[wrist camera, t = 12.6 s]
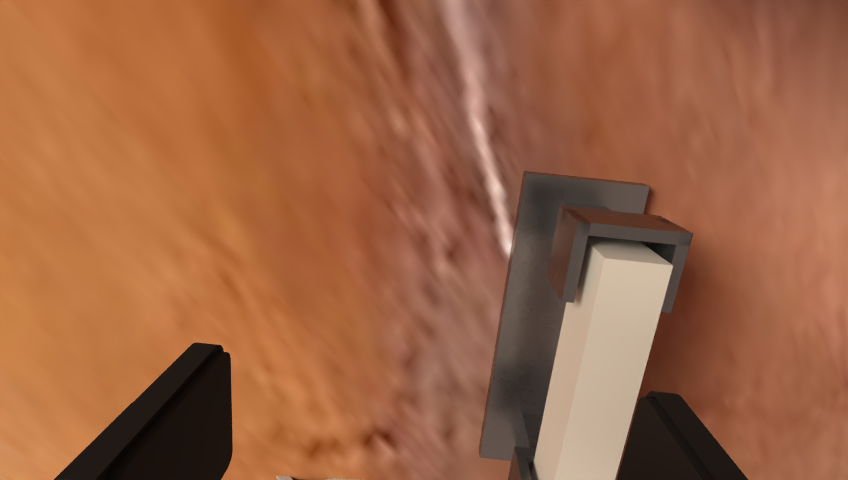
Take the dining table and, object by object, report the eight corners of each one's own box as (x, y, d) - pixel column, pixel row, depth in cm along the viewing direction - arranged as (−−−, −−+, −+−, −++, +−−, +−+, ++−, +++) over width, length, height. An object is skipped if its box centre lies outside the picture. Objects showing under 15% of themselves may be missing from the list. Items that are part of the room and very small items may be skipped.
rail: (580, 234, 32) (604, 258, 27) (638, 240, 32) (673, 265, 27) (527, 490, 39) (540, 546, 34) (576, 495, 39) (595, 552, 34)
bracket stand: (523, 171, 39) (556, 199, 28) (643, 183, 39) (723, 216, 28) (478, 448, 47) (490, 555, 36) (578, 459, 47) (620, 569, 36)
